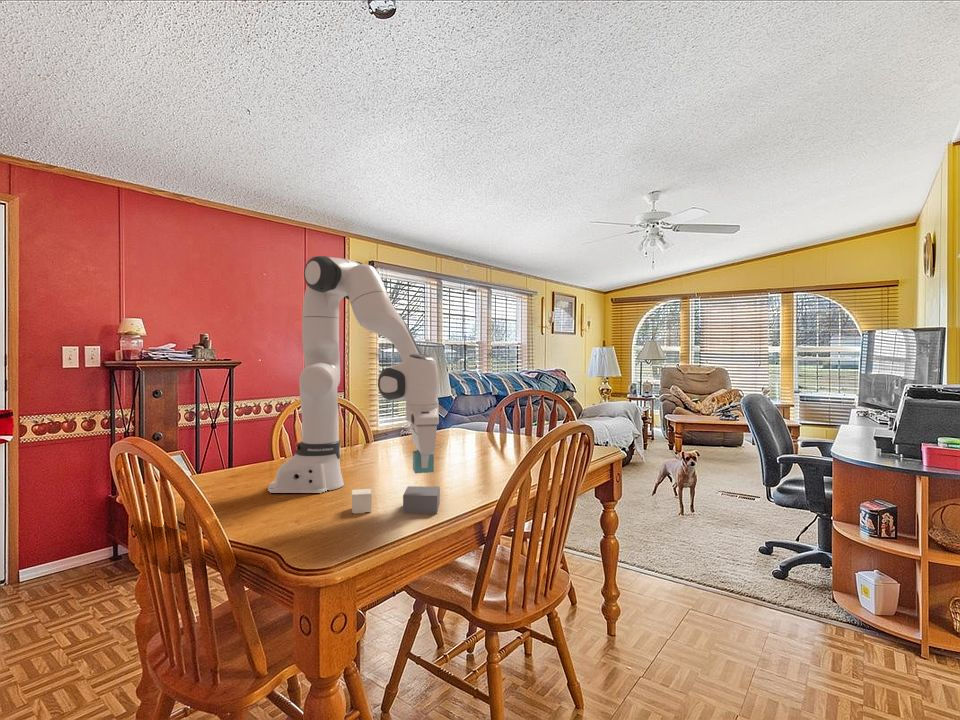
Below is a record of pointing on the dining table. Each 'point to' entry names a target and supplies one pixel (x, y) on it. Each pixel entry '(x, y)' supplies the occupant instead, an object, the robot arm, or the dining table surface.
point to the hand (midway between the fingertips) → (422, 464)
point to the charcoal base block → (421, 500)
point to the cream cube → (361, 500)
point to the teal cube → (417, 463)
